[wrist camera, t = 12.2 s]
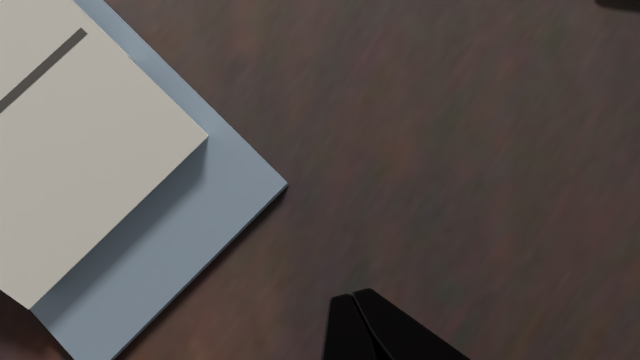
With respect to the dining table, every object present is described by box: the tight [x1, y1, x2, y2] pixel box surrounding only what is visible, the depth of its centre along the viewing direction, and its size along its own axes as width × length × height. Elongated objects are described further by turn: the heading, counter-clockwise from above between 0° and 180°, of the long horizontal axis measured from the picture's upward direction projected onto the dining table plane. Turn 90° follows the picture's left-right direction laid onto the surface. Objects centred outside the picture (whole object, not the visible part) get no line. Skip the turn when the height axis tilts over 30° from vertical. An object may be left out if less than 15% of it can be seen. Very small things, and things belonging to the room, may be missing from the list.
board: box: [30, 0, 289, 360], centre depth 20 cm, size 25×12×1 cm, turn 45°
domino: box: [0, 0, 208, 310], centre depth 16 cm, size 2×10×12 cm
